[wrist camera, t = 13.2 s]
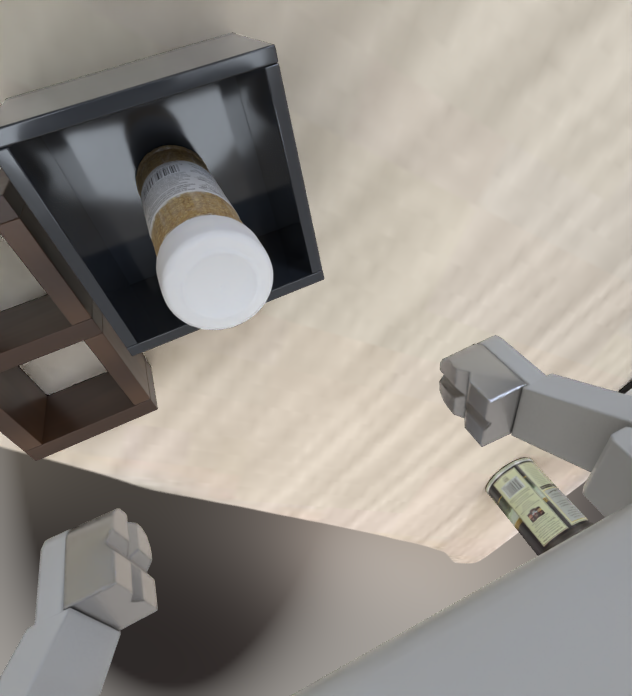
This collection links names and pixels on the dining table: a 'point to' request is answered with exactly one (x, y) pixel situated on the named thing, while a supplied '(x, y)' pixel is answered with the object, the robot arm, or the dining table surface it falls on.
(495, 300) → the dining table surface
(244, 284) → the spice jar
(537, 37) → the dining table surface
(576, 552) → the robot arm
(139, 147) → the dark grey open box
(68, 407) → the rack
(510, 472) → the coffee can
